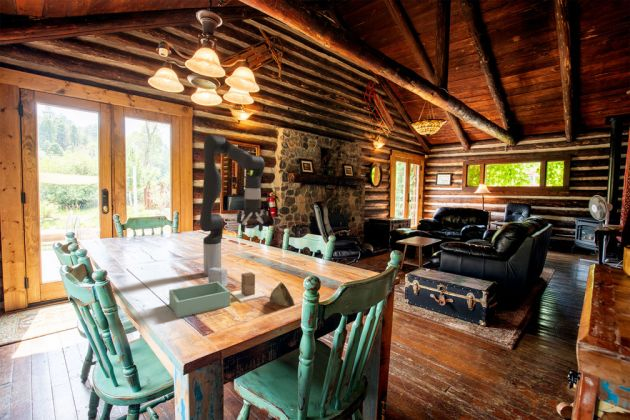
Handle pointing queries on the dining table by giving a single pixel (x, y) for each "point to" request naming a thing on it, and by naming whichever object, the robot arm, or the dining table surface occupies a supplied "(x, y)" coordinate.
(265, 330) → the dining table surface
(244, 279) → the oak block
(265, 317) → the dining table surface
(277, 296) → the rock
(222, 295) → the box frame
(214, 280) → the medicine box
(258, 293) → the plate
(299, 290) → the dining table surface
